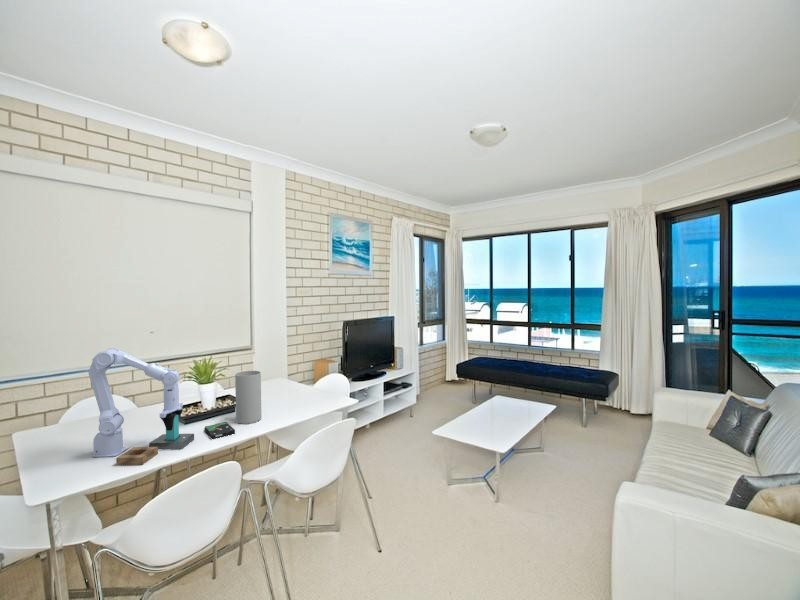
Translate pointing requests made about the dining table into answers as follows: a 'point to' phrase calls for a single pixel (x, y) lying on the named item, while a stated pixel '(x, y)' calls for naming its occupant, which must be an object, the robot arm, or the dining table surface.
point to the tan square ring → (137, 456)
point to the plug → (173, 429)
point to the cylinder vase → (248, 396)
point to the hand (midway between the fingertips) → (172, 428)
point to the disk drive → (219, 430)
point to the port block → (172, 442)
